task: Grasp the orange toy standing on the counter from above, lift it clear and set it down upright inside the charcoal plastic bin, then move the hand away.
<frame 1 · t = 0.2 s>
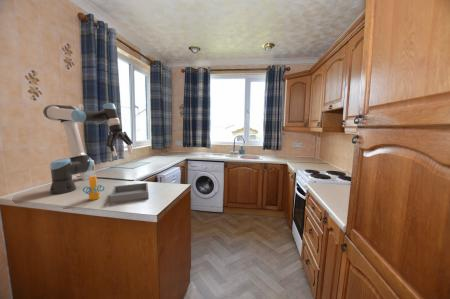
hand: (123, 154, 140), 28 cm above the countertop, tool tilted 20°, fingers open, 13 cm apart
orange toy: (94, 198, 134), on the countertop
clear glass vessel: (87, 178, 185), on the countertop
bin: (131, 195, 138), on the countertop
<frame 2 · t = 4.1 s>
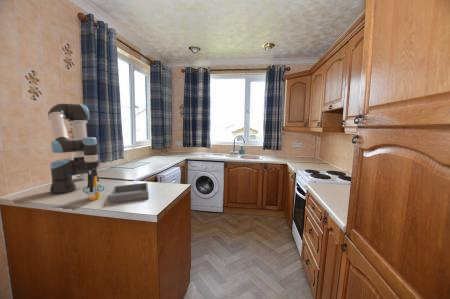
hand: (94, 194, 133), 3 cm above the countertop, tool pointing down, fingers closed on orange toy, 11 cm apart
orange toy: (94, 198, 134), on the countertop, touching gripper
everything else where it was.
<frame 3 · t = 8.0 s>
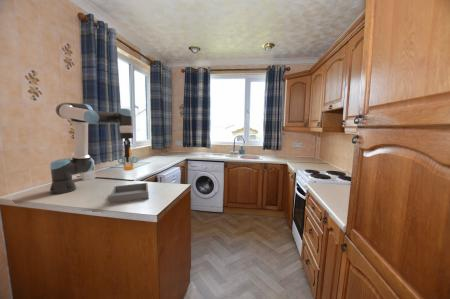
hand: (128, 165, 136), 21 cm above the countertop, tool pointing down, fingers closed on orange toy, 11 cm apart
orange toy: (128, 170, 136), point 18 cm above the countertop, touching gripper
everything else where it was.
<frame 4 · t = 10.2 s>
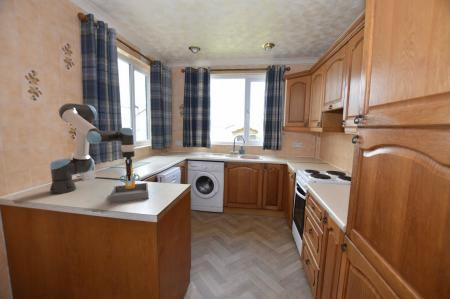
hand: (130, 183, 137), 9 cm above the countertop, tool pointing down, fingers closed on orange toy, 11 cm apart
orange toy: (130, 187, 137), point 6 cm above the countertop, touching gripper
everything else where it was.
when the fingers open (5 cm above the countertop, at t = 12.0 s): orange toy drops 1 cm, resting on bin.
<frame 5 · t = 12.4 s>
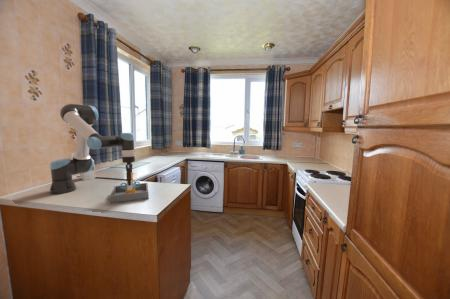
hand: (130, 187, 137), 6 cm above the countertop, tool pointing down, fingers open, 13 cm apart
orange toy: (130, 194, 138), point 1 cm above the countertop, touching bin
everything else where it was.
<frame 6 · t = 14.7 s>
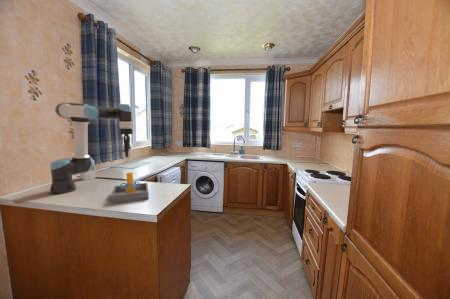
hand: (127, 160, 136), 25 cm above the countertop, tool pointing down, fingers open, 13 cm apart
nothing on the countertop moved.
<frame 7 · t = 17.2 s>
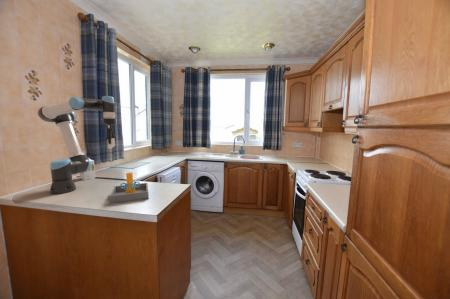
hand: (111, 147, 148), 32 cm above the countertop, tool pointing down, fingers open, 13 cm apart
nothing on the countertop moved.
at the end: orange toy inside the target area on the bin (0.1 cm from its centre), point 0.8 cm above the bin's base; orange toy tilted 0°; the gripper is holding nothing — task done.
